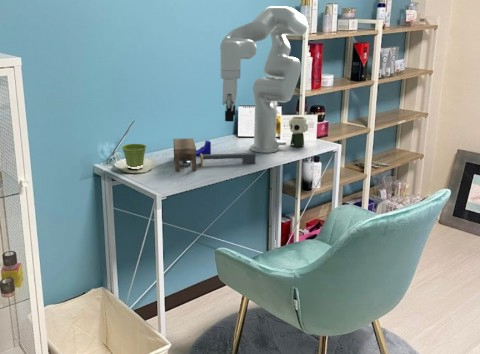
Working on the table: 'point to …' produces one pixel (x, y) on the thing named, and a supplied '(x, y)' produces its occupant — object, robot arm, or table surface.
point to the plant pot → (134, 154)
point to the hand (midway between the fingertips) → (230, 118)
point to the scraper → (230, 157)
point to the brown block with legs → (184, 152)
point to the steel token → (184, 163)
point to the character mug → (298, 130)
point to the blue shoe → (204, 149)
